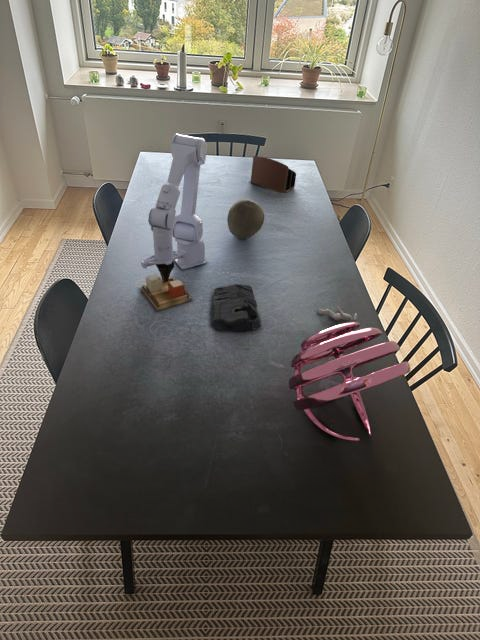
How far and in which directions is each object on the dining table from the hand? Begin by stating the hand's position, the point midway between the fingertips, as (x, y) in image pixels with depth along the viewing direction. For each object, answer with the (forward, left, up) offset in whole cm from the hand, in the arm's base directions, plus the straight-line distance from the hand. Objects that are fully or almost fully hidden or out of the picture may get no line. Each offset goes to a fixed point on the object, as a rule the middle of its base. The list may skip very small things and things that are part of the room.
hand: (165, 280), depth 149 cm
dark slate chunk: (-15, +20, -4) cm, 26 cm away
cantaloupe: (-43, -19, -4) cm, 47 cm away
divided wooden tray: (+1, +3, -3) cm, 5 cm away
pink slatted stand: (-16, +67, -4) cm, 69 cm away
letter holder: (-83, -56, -4) cm, 100 cm away
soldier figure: (-41, +39, -4) cm, 57 cm away
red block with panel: (-1, +6, -3) cm, 7 cm away
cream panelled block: (+4, 0, -3) cm, 5 cm away
